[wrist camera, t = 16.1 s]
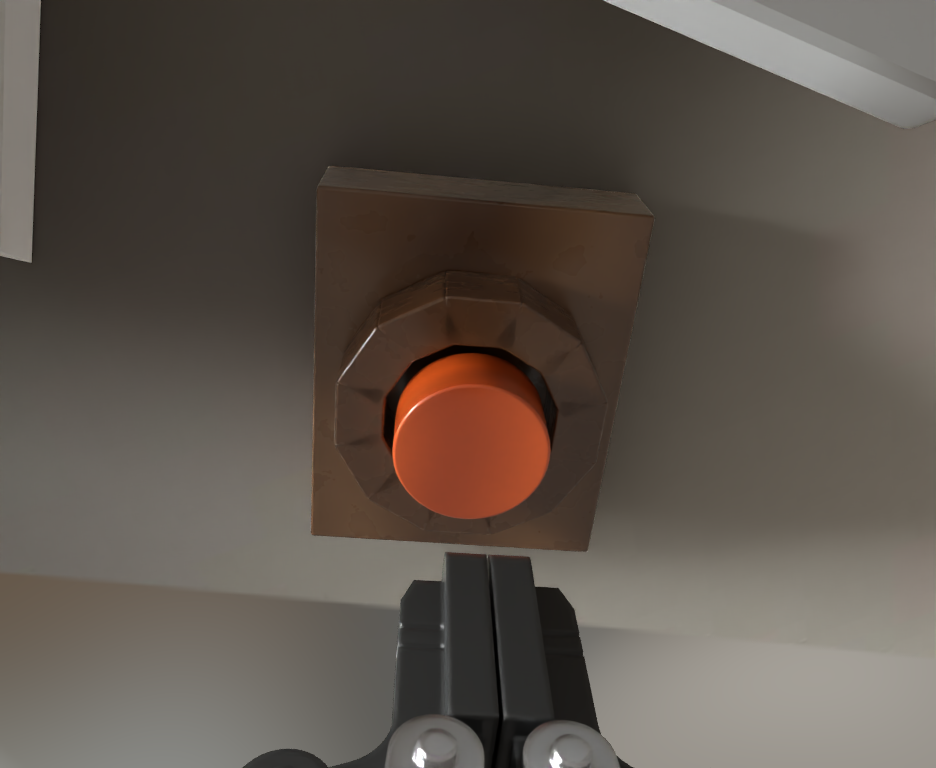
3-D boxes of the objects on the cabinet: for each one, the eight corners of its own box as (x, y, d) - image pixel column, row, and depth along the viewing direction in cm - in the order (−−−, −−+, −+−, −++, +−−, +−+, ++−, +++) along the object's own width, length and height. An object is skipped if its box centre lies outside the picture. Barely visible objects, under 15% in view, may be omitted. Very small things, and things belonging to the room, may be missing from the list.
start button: (552, 356, 20) (561, 390, 18) (532, 484, 22) (539, 525, 20) (399, 345, 20) (396, 378, 18) (391, 474, 21) (387, 515, 20)
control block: (636, 192, 22) (675, 238, 18) (577, 509, 26) (598, 595, 23) (327, 164, 21) (304, 206, 18) (320, 492, 26) (300, 578, 22)
